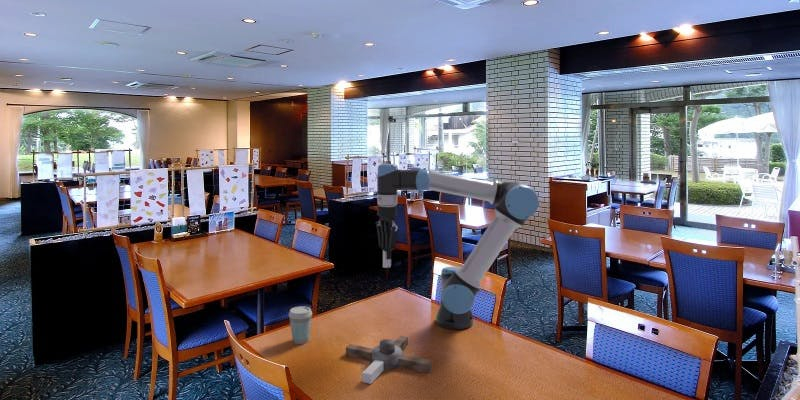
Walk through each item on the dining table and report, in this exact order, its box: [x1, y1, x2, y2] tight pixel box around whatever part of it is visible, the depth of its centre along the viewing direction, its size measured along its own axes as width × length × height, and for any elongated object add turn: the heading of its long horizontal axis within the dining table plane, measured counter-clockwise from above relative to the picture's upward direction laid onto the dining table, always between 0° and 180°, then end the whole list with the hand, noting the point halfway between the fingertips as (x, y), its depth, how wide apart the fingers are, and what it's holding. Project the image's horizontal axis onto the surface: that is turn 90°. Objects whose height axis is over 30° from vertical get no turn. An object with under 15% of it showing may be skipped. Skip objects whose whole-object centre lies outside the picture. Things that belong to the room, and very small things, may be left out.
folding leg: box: [361, 360, 384, 384], centre depth 141 cm, size 9×3×3 cm, turn 157°
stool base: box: [345, 335, 432, 374], centre depth 151 cm, size 23×23×7 cm
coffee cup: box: [288, 305, 313, 345], centre depth 166 cm, size 8×8×12 cm
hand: (386, 266), depth 171 cm, fingers closed
